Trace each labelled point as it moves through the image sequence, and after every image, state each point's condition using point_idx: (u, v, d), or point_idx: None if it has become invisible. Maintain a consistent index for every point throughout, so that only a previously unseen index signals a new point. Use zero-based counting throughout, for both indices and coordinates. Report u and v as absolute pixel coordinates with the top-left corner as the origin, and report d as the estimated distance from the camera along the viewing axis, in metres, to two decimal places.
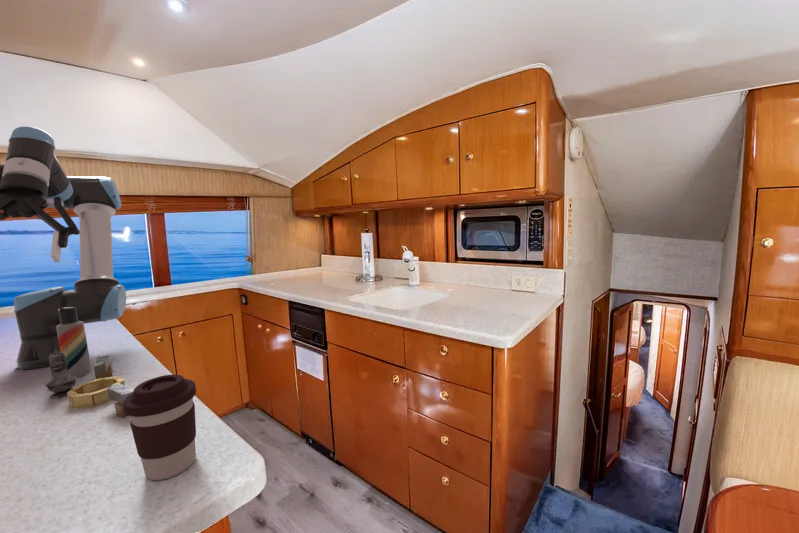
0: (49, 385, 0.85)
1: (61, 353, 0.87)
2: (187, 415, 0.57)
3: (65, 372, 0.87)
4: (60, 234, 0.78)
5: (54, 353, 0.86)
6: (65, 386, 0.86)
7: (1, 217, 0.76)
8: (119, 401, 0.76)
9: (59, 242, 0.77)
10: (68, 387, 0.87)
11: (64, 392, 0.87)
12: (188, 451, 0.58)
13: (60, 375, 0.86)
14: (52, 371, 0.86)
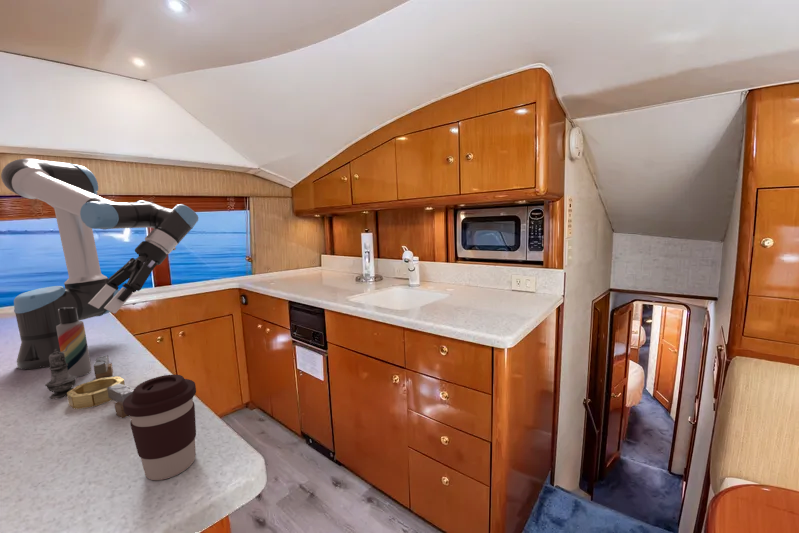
0: (49, 385, 0.85)
1: (61, 353, 0.87)
2: (187, 415, 0.57)
3: (65, 372, 0.87)
4: None
5: (54, 353, 0.86)
6: (65, 386, 0.86)
7: None
8: (119, 401, 0.76)
9: None
10: (68, 387, 0.87)
11: (64, 392, 0.87)
12: (188, 451, 0.58)
13: (60, 375, 0.86)
14: (52, 371, 0.86)
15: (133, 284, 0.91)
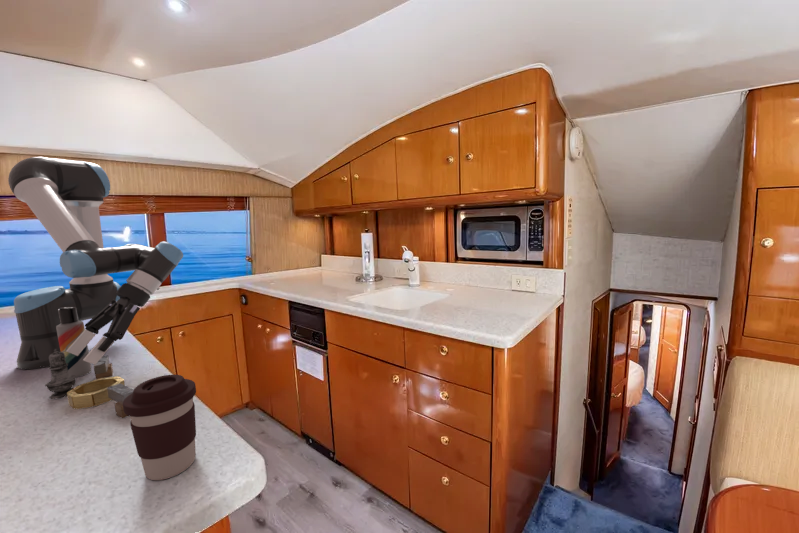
0: (49, 385, 0.85)
1: (61, 353, 0.87)
2: (187, 415, 0.57)
3: (65, 372, 0.87)
4: None
5: (54, 353, 0.86)
6: (65, 386, 0.86)
7: None
8: (119, 401, 0.76)
9: None
10: (68, 387, 0.87)
11: (64, 392, 0.87)
12: (188, 451, 0.58)
13: (60, 375, 0.86)
14: (52, 371, 0.86)
15: (114, 333, 0.87)
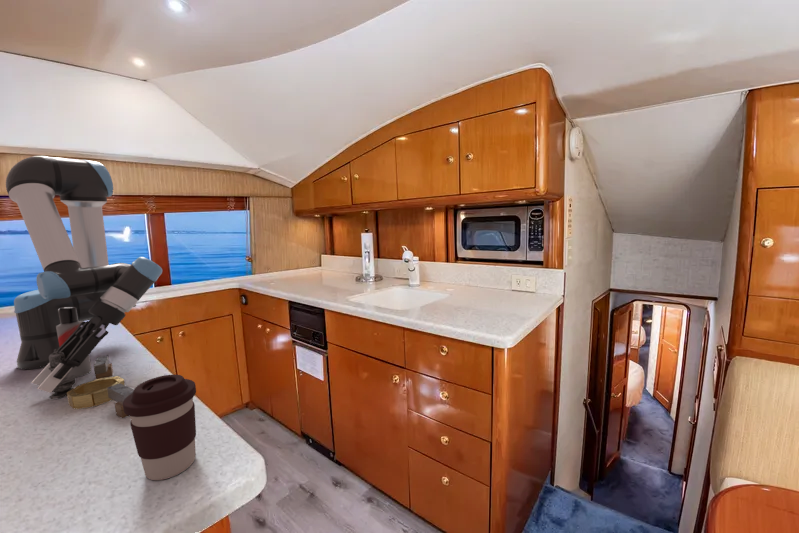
0: None
1: (61, 353, 0.87)
2: (187, 415, 0.57)
3: None
4: None
5: (54, 353, 0.86)
6: (65, 386, 0.86)
7: None
8: (119, 401, 0.76)
9: None
10: (68, 387, 0.87)
11: (64, 392, 0.87)
12: (188, 451, 0.58)
13: None
14: None
15: (71, 360, 0.84)
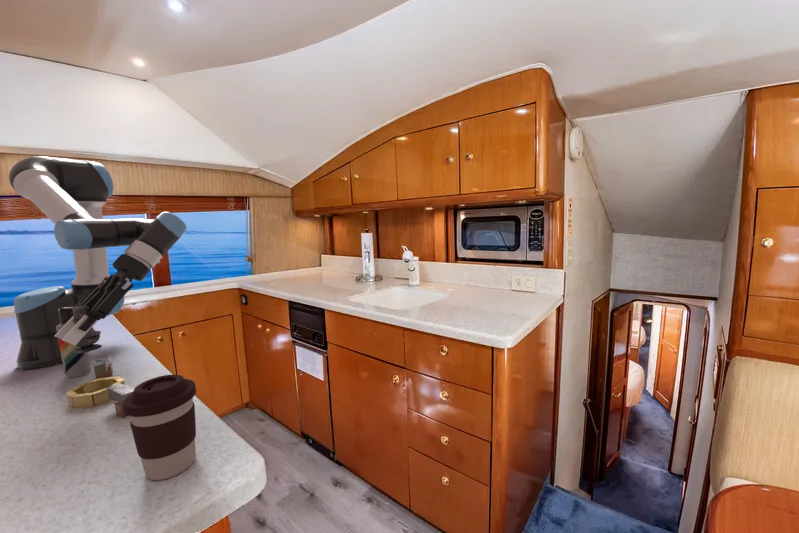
0: None
1: (85, 305, 0.82)
2: (187, 415, 0.57)
3: None
4: None
5: (78, 305, 0.82)
6: (90, 340, 0.82)
7: None
8: (119, 401, 0.76)
9: None
10: (93, 341, 0.83)
11: (88, 347, 0.83)
12: (188, 451, 0.58)
13: None
14: None
15: (96, 312, 0.80)
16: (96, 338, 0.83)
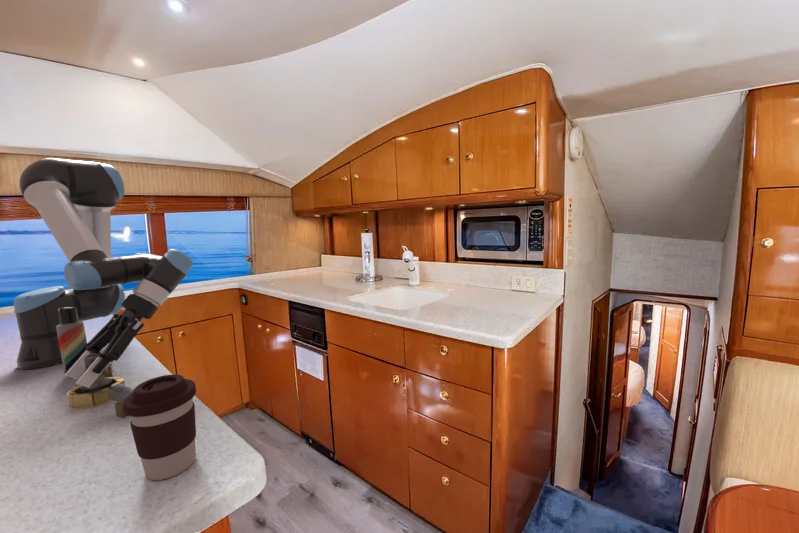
0: (85, 388, 0.82)
1: (96, 355, 0.84)
2: (187, 415, 0.57)
3: (100, 375, 0.84)
4: None
5: (89, 355, 0.83)
6: (101, 389, 0.84)
7: None
8: (119, 401, 0.76)
9: None
10: None
11: None
12: (188, 451, 0.58)
13: None
14: None
15: (110, 354, 0.81)
16: (107, 387, 0.85)
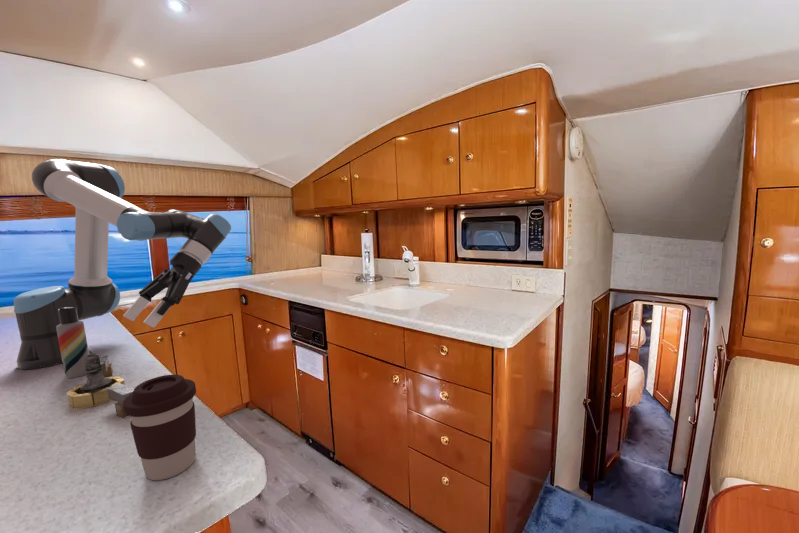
0: (85, 388, 0.82)
1: (96, 355, 0.84)
2: (187, 415, 0.57)
3: (100, 375, 0.84)
4: None
5: (89, 355, 0.83)
6: (101, 389, 0.84)
7: None
8: (119, 401, 0.76)
9: None
10: None
11: None
12: (188, 451, 0.58)
13: (95, 378, 0.83)
14: (87, 374, 0.83)
15: (172, 298, 0.89)
16: (107, 387, 0.85)
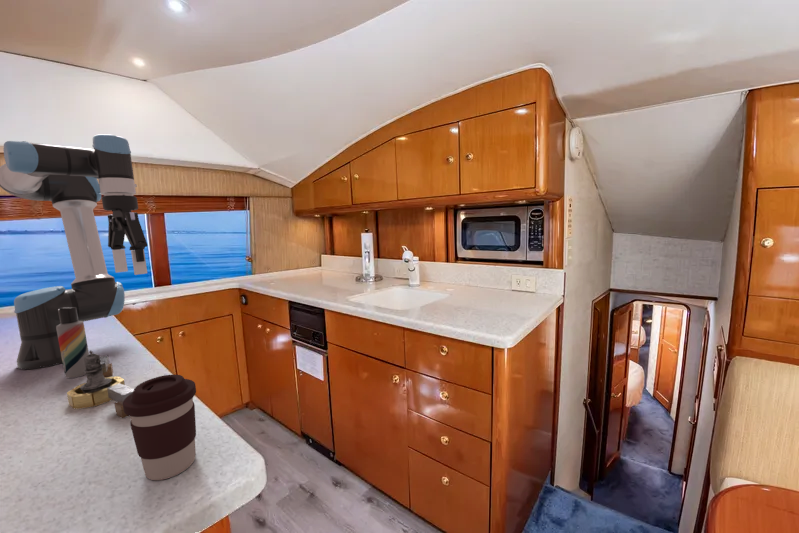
0: (85, 388, 0.82)
1: (96, 355, 0.84)
2: (187, 415, 0.57)
3: (100, 375, 0.84)
4: None
5: (90, 355, 0.83)
6: (101, 389, 0.84)
7: None
8: (119, 401, 0.76)
9: None
10: None
11: None
12: (188, 451, 0.58)
13: (95, 378, 0.83)
14: (88, 374, 0.83)
15: (137, 244, 0.89)
16: (107, 387, 0.85)
